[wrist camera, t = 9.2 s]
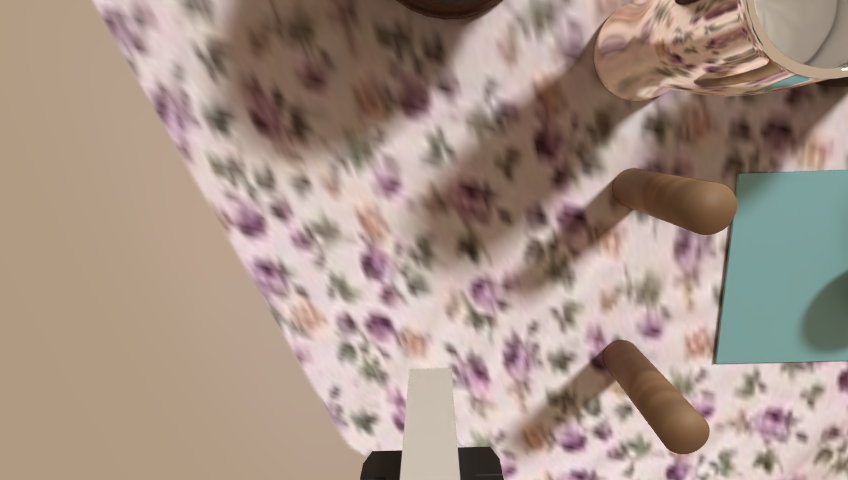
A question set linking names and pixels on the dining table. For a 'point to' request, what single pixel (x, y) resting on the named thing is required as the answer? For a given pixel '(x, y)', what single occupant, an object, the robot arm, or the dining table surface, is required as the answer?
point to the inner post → (677, 199)
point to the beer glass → (721, 46)
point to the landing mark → (787, 270)
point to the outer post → (656, 399)
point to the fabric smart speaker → (449, 7)
